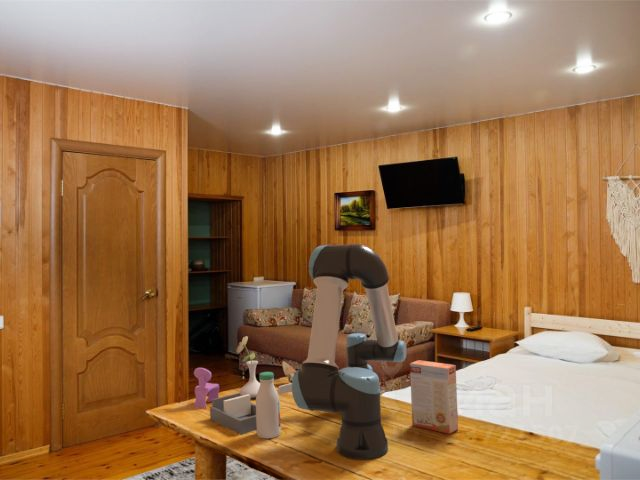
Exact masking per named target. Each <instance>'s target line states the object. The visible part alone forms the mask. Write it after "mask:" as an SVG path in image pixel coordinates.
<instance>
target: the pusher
mask: <svg viewBox="0 0 640 480" xmlns="http://www.w3.org/2000/svg"><path fill="white" fill-rule="evenodd" d="M223 402H224V412H226V413H228V414H230V415H233V416H235V417H237V418H238V417H242V416H245V415H249V414H251V403H252V402H251V398H250V395H249V394H247V395H243V396H241V395H240V396H239V397H235V398H232V399H228V400H224V401H223Z"/></svg>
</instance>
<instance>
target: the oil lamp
mask: <svg viewBox="0 0 640 480" xmlns="http://www.w3.org/2000/svg"><path fill="white" fill-rule="evenodd" d="M281 364H282V370H283V373H284V375H285V376H286V377H287V380H288V382H289V384H290V383H291V381H292V379H293V375H294V373H295V372H296V371H297V370H296V369H295V368H294V367H293V366H292V365H290V364H289V363H287V362H285V361H284V360H282V362H281Z"/></svg>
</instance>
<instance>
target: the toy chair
mask: <svg viewBox="0 0 640 480" xmlns="http://www.w3.org/2000/svg"><path fill="white" fill-rule="evenodd" d="M193 375H194V377H195V378H196V379H198V385H197V386H195V387H194V394H195V401H194V404H193V406H192V408H195V407H198V408H197V409H202V408H204V409H203V410H207V403H206V402H208V403H209V402H210V403H212V399H216V398H220V397H219V392H220V384H219V383H212V382H209V381H211V378H212V371H210V370H209V369H207V368H204V367H197V368H195V369H194V371H193ZM207 395H208V396H207Z"/></svg>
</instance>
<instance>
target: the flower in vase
mask: <svg viewBox="0 0 640 480" xmlns="http://www.w3.org/2000/svg"><path fill="white" fill-rule="evenodd" d="M248 338H249V336H247V335H246V336H243V338H242V340H241V341H240V342H239V343H238V345H237V347H236V353H237V354H240V353H241V352H242V351H243V350H244V349H246V352H247V355H246V356H244V358H243V360H242V362H245V364H246V365H247V367H248V370H249V379H248V382H246V383H245V384H244V385H243V386H242V387H241V389H240V390H239V392H238V393H240V396H243V395H247V394H249V395H250V399H253V398H255V399H256V396H257V393H258V390H259V387H260V381H258V380H257V378H256V370H257V369H256V368H257V365H258V363H259V361H257V360H253V359H255V358H256V354H255V352H254V351H252V352H251V353H249V350H248V348H247V346H246V344H247V342H248ZM248 359H249V361H248Z"/></svg>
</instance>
